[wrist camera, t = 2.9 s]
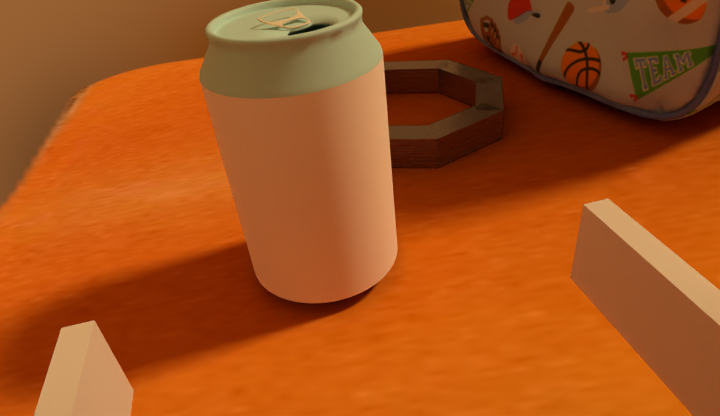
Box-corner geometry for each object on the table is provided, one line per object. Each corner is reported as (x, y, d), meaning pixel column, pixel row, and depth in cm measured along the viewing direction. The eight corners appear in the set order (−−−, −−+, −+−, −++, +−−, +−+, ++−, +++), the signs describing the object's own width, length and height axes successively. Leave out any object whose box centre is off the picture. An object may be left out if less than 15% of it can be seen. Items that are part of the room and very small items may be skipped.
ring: (498, 82, 42) (500, 58, 41) (504, 168, 31) (506, 139, 30) (336, 85, 45) (333, 63, 44) (290, 166, 34) (284, 138, 33)
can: (405, 222, 28) (391, -15, 21) (386, 320, 22) (359, 40, 15) (282, 218, 29) (231, -5, 22) (235, 309, 24) (148, 49, 17)
